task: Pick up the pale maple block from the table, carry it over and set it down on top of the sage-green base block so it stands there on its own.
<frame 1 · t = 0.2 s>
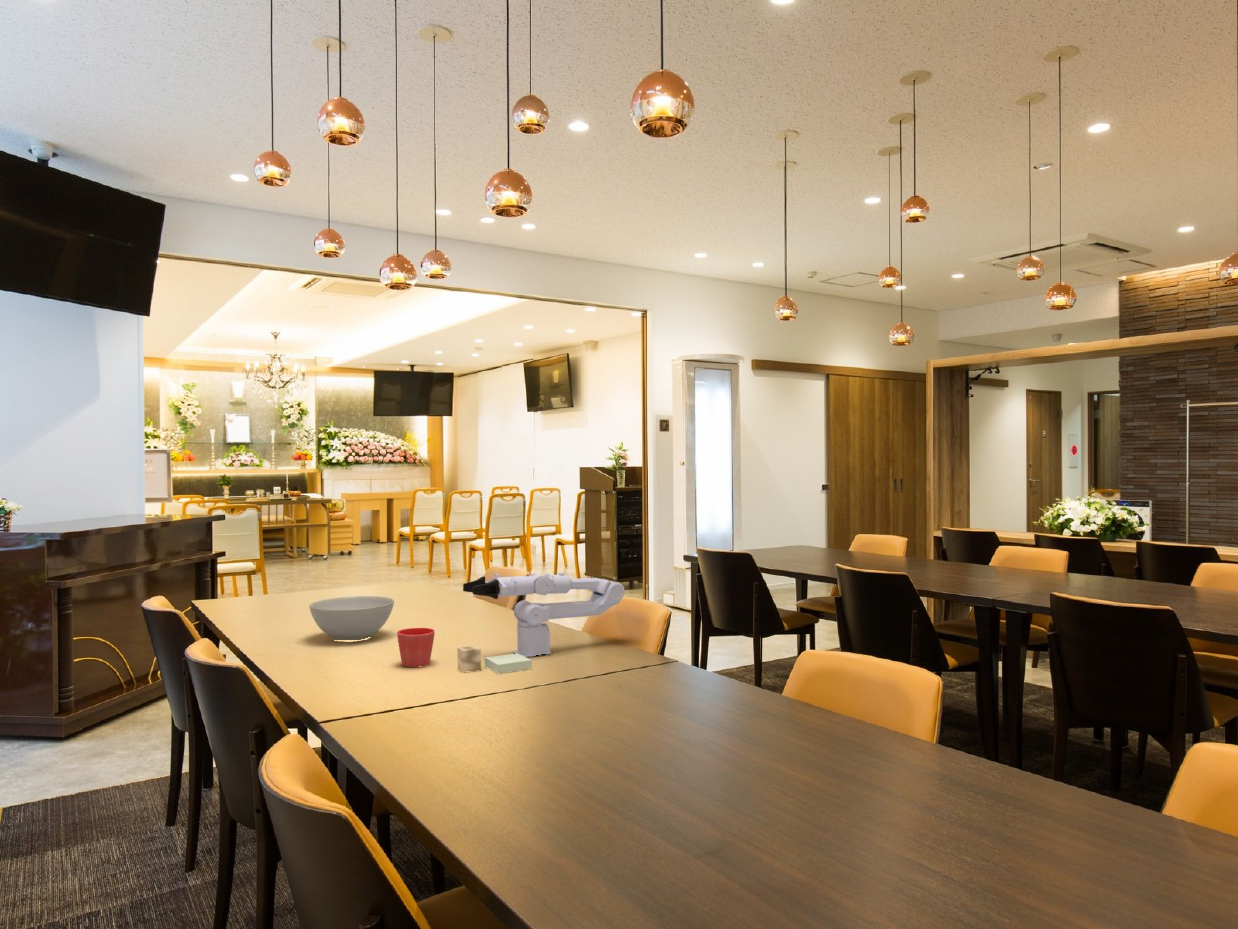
hand: (468, 589, 237), 21 cm above the table, tool horizontal, fingers open, 7 cm apart
flower pot: (416, 665, 235), on the table
maple block: (469, 669, 229), on the table
base block: (507, 669, 230), on the table
decorative bowl: (352, 639, 271), on the table
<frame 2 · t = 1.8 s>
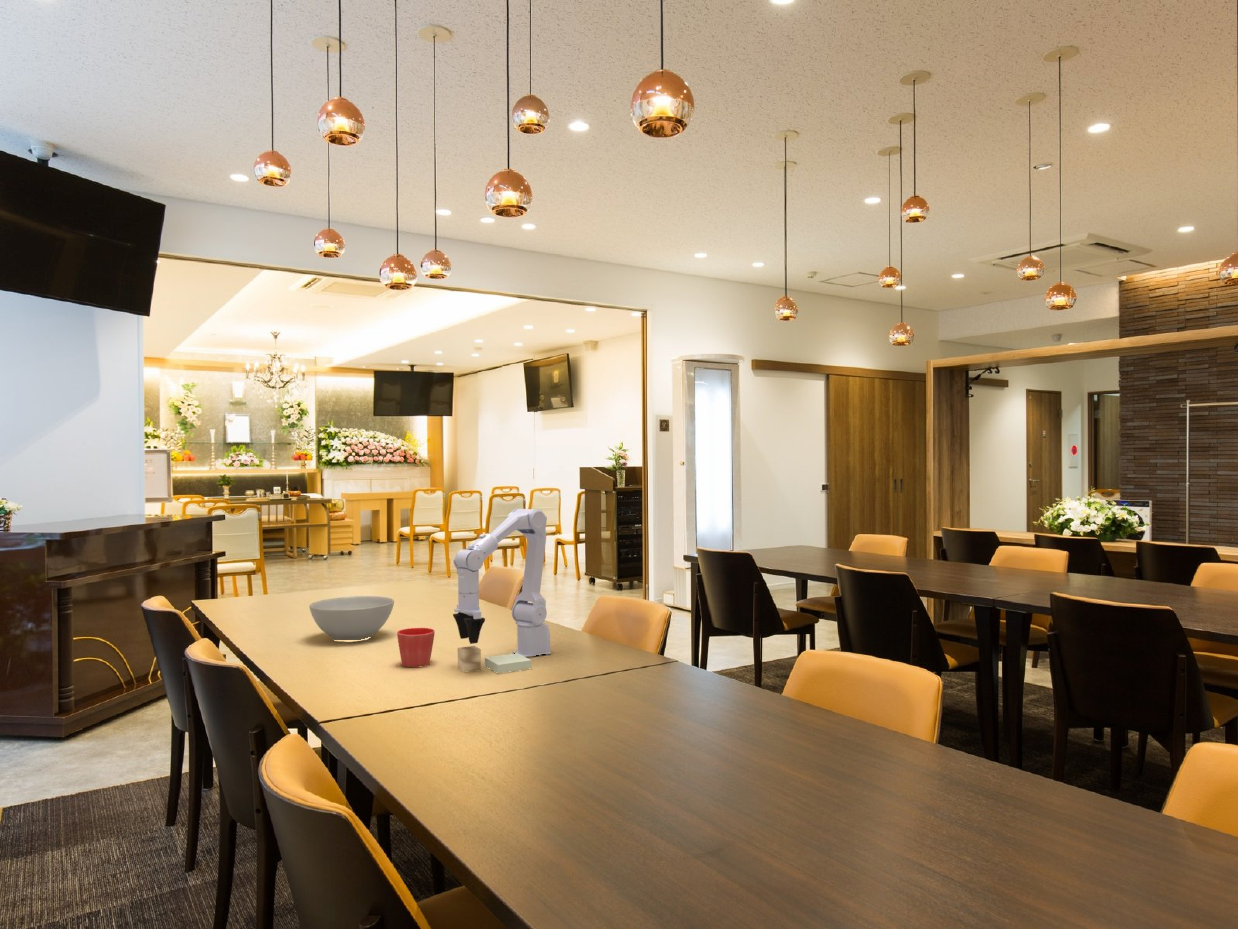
hand: (468, 640, 229), 8 cm above the table, tool pointing down, fingers open, 7 cm apart
nothing on the table moved.
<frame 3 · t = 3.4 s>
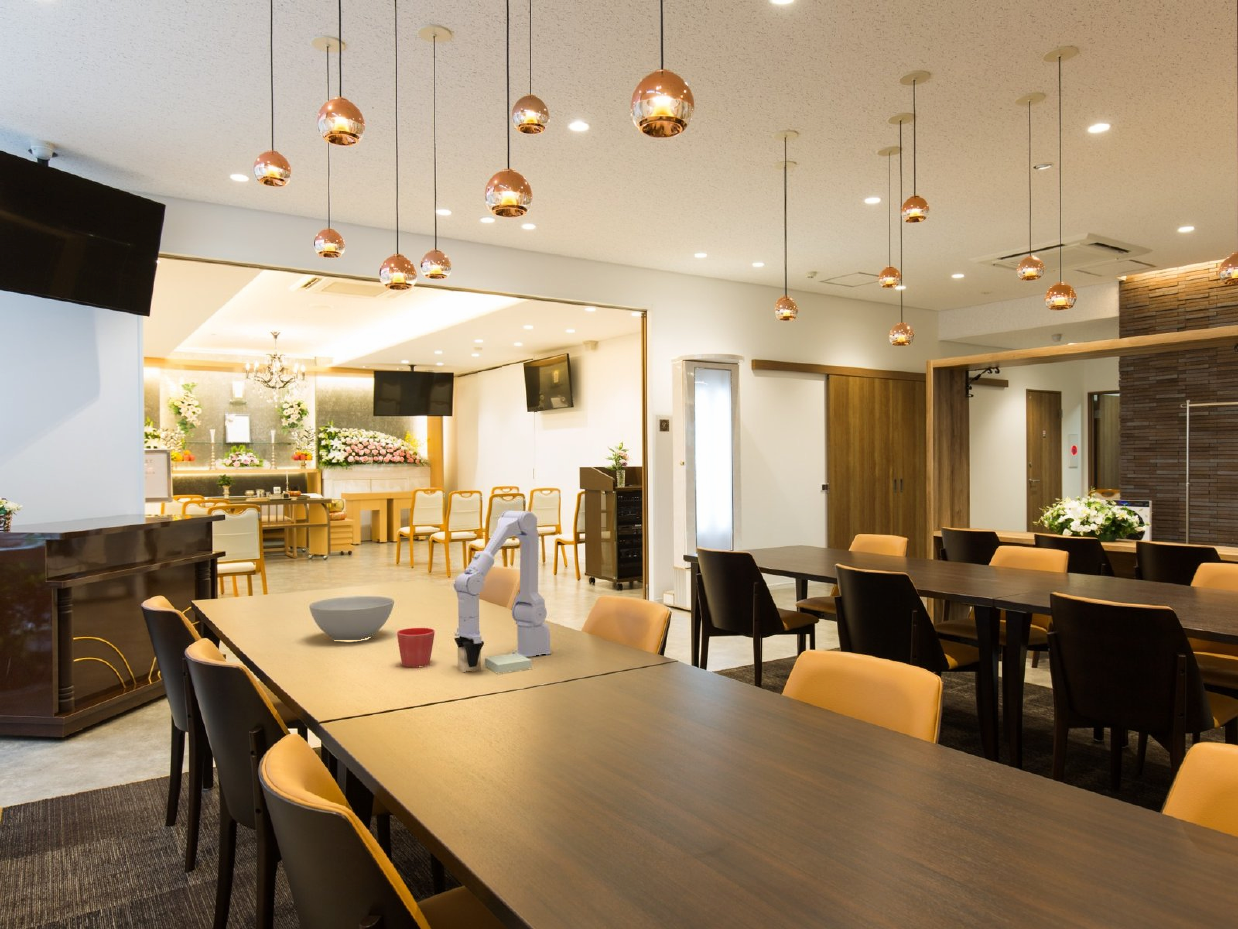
hand: (469, 664, 229), 1 cm above the table, tool pointing down, fingers closed on maple block, 5 cm apart
maple block: (469, 669, 229), on the table, touching gripper
everything else where it was.
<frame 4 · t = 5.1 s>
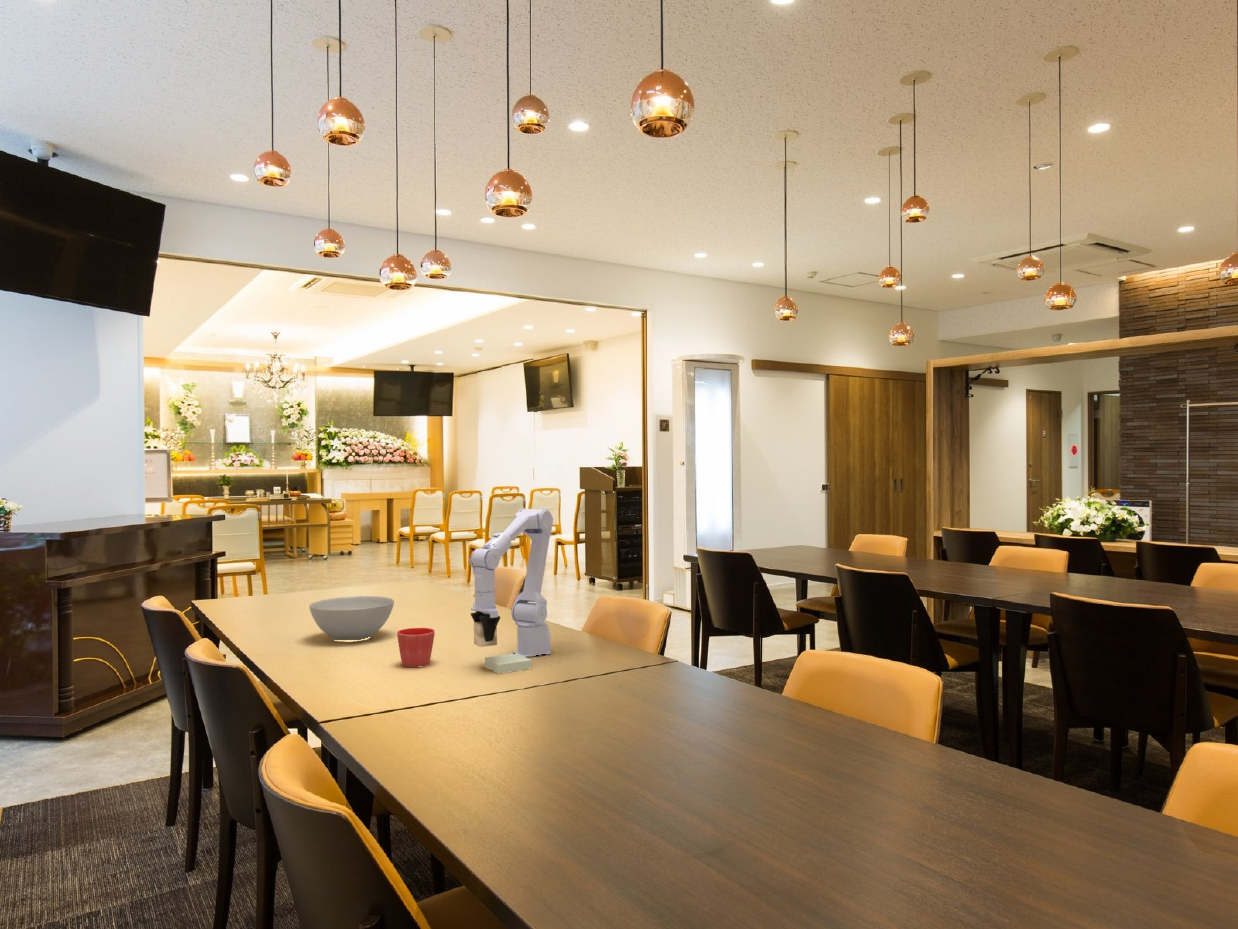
hand: (485, 639, 230), 8 cm above the table, tool pointing down, fingers closed on maple block, 5 cm apart
maple block: (485, 644, 230), point 7 cm above the table, touching gripper
everything else where it was.
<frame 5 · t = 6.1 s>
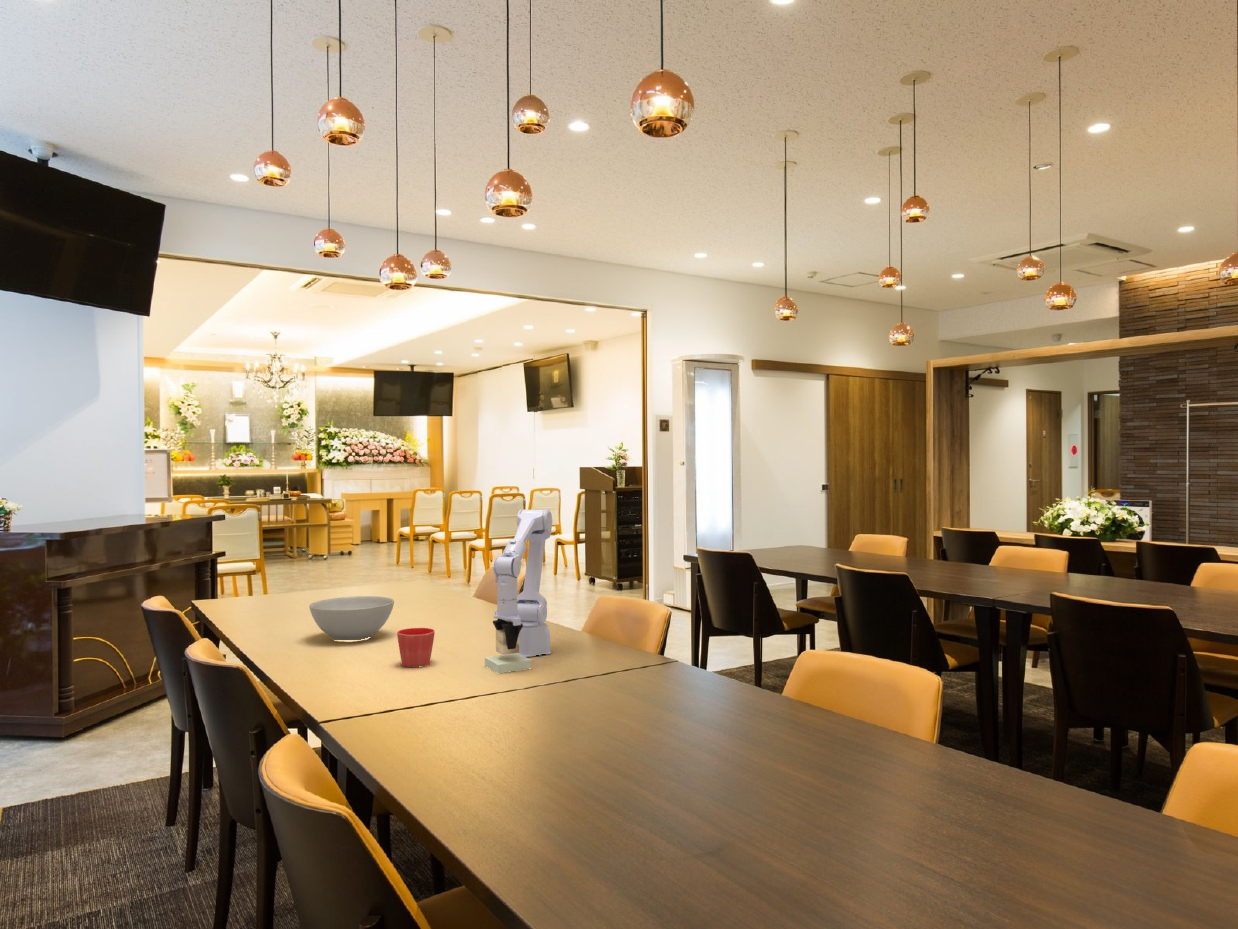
hand: (507, 646, 230), 6 cm above the table, tool pointing down, fingers closed on maple block, 5 cm apart
maple block: (507, 652, 230), point 4 cm above the table, touching gripper
everything else where it was.
when the fingers open (6 cm above the table, at t = 6.8 s): maple block drops 2 cm, resting on base block.
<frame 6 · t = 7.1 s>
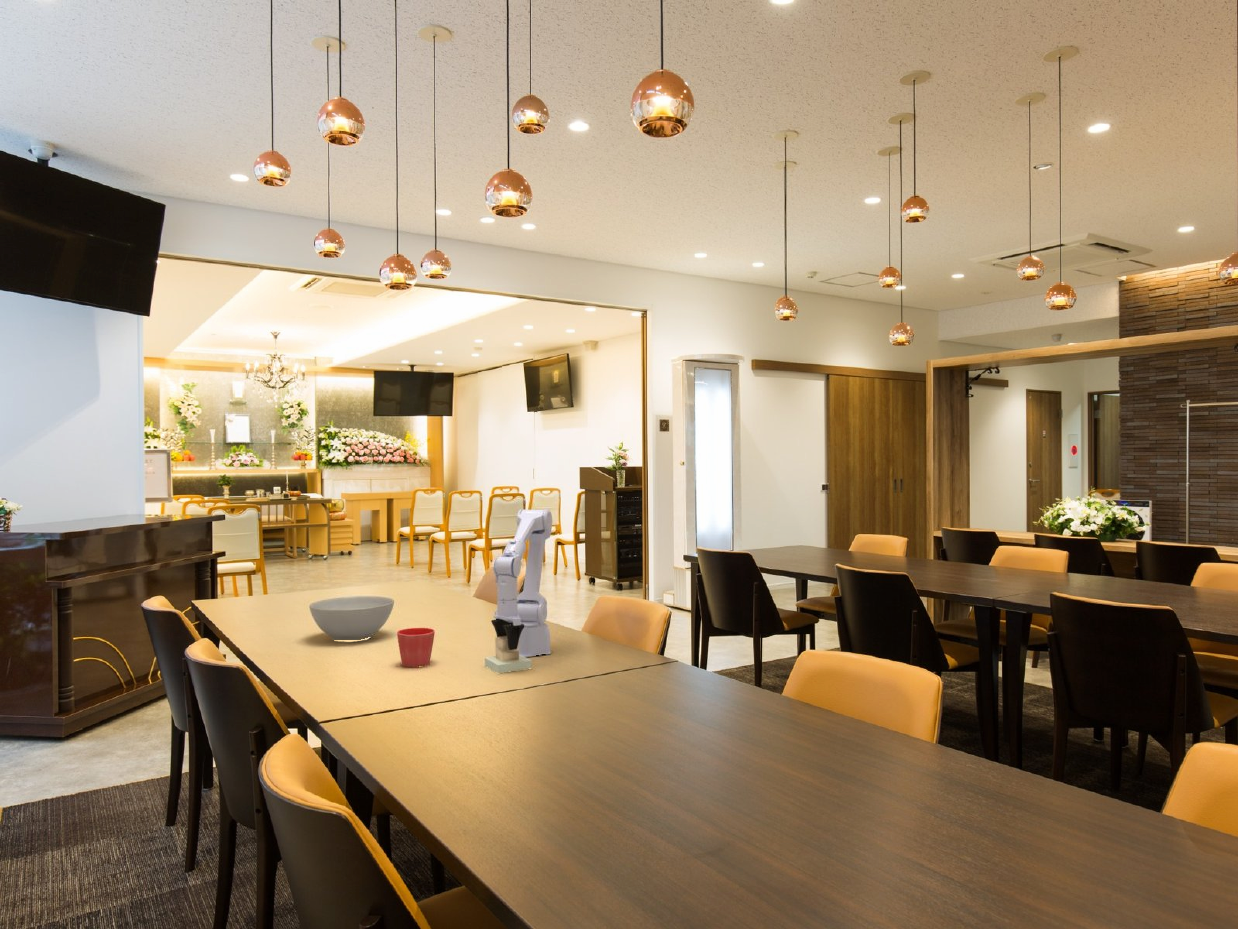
hand: (507, 646, 230), 6 cm above the table, tool pointing down, fingers open, 7 cm apart
maple block: (507, 659, 230), point 2 cm above the table, touching base block
base block: (508, 669, 230), on the table, touching maple block
everything else where it was.
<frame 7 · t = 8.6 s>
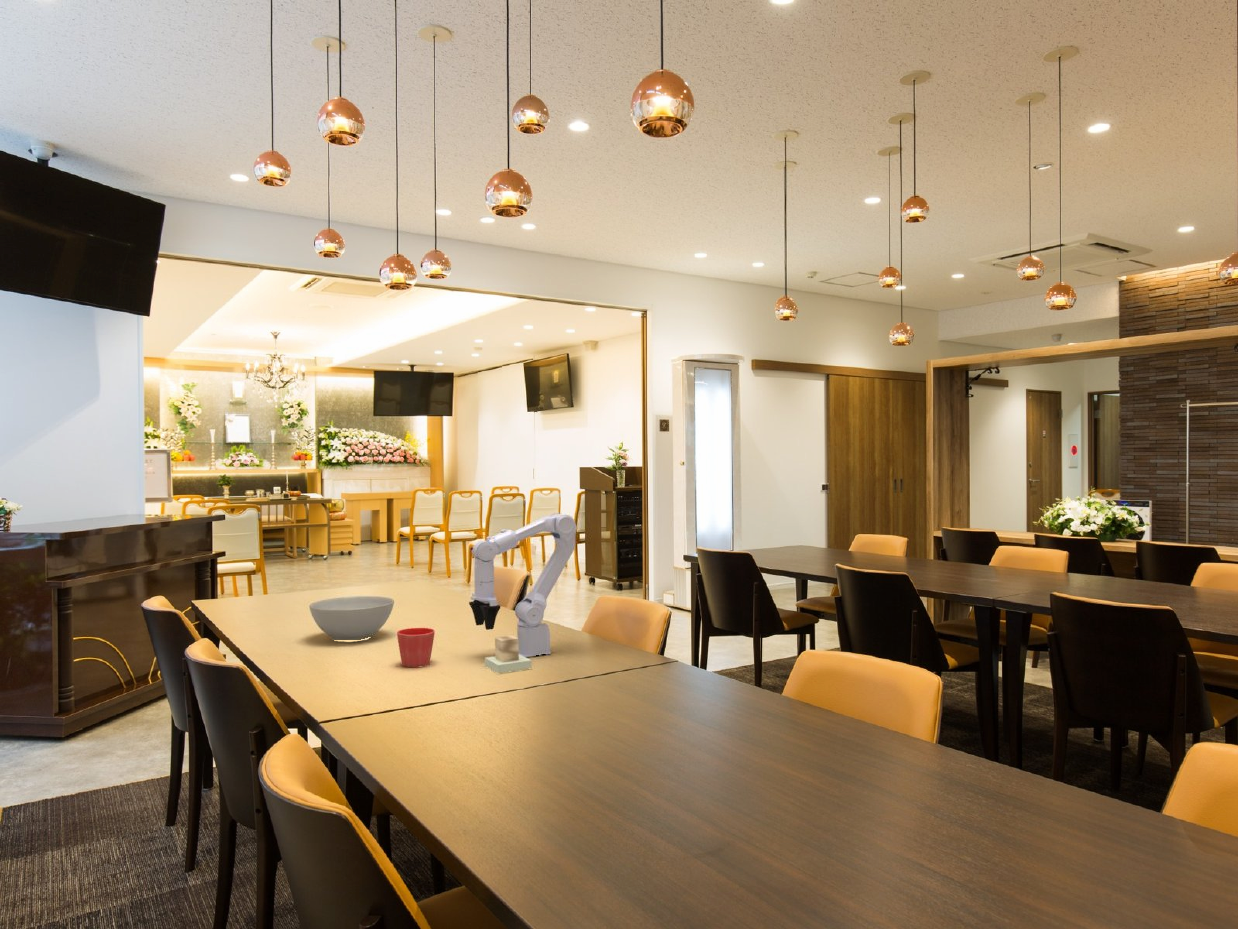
hand: (484, 627, 241), 9 cm above the table, tool pointing down, fingers open, 7 cm apart
nothing on the table moved.
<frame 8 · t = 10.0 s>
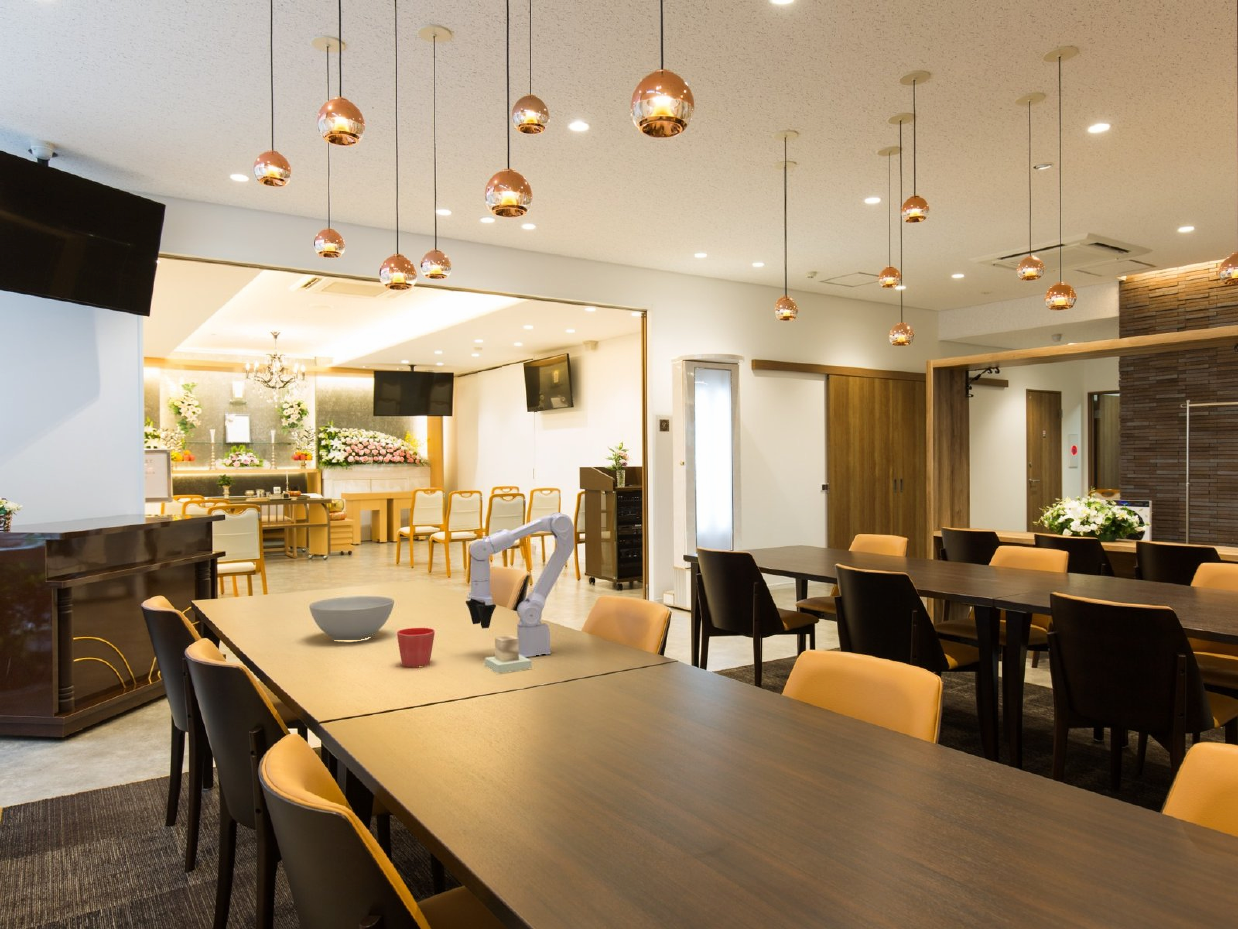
hand: (480, 625, 243), 9 cm above the table, tool pointing down, fingers open, 7 cm apart
nothing on the table moved.
at the end: maple block 0.4 cm off-centre on the base block, point 3.0 cm above the base block's base; maple block tilted 0°; the gripper is holding nothing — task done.
